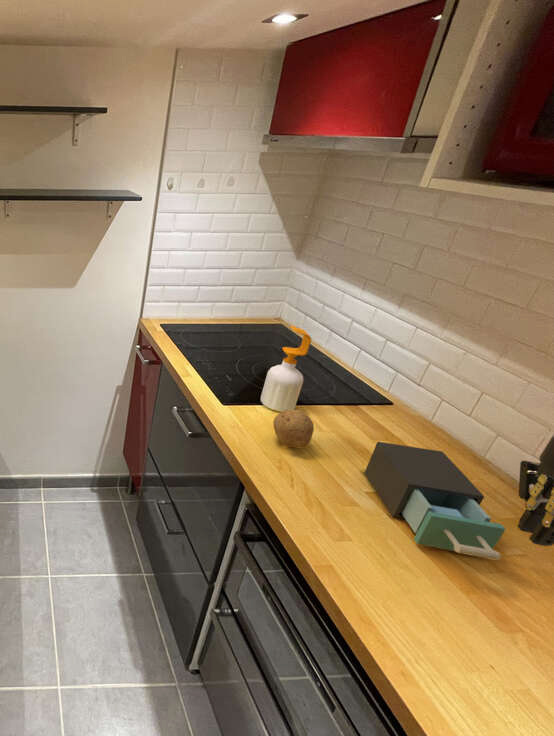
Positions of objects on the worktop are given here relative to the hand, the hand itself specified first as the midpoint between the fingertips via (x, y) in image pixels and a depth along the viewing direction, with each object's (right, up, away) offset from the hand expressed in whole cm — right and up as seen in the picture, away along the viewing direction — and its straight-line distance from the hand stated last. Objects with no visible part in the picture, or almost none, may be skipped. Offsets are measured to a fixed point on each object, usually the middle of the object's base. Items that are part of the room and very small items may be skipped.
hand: (532, 536), depth 69 cm
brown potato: (-11, +3, +46) cm, 47 cm away
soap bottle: (-4, +11, +63) cm, 64 cm away
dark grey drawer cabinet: (+6, -5, +29) cm, 30 cm away
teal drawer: (+3, -8, +19) cm, 21 cm away
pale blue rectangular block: (+3, -7, +19) cm, 20 cm away
